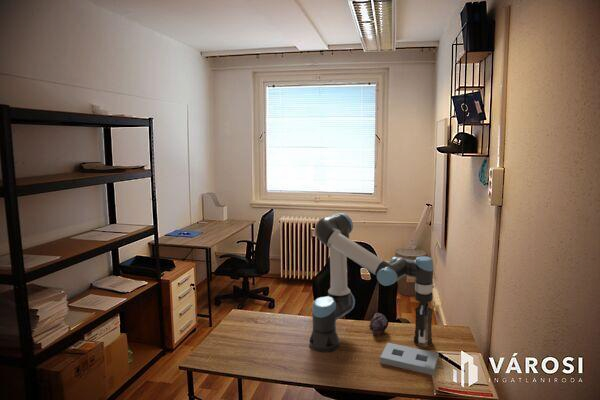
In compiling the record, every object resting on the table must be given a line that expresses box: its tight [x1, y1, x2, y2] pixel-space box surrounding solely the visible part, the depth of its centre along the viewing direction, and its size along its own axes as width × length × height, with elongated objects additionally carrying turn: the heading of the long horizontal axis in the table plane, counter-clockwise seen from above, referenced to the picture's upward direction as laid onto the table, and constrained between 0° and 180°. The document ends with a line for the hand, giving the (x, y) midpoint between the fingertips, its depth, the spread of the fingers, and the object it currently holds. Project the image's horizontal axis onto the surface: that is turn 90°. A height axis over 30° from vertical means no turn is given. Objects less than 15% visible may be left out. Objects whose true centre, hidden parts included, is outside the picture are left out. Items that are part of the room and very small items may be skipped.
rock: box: [368, 312, 389, 336], centre depth 221 cm, size 12×9×10 cm
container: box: [413, 306, 434, 348], centre depth 207 cm, size 9×9×18 cm
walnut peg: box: [417, 315, 428, 348], centre depth 188 cm, size 4×4×14 cm
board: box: [379, 342, 439, 376], centre depth 193 cm, size 24×14×3 cm, turn 64°
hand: (422, 339), depth 188 cm, fingers closed on walnut peg, 4 cm apart
